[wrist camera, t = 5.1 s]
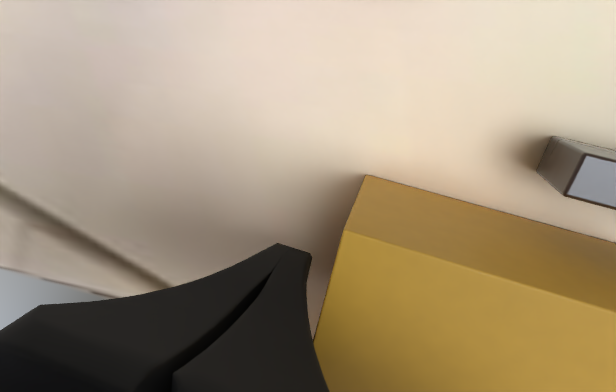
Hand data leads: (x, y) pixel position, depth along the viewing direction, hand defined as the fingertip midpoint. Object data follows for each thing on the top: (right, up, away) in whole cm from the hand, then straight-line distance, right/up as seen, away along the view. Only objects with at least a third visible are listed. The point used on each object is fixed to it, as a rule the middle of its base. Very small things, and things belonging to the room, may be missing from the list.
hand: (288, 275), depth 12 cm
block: (+5, -1, 0) cm, 5 cm away
